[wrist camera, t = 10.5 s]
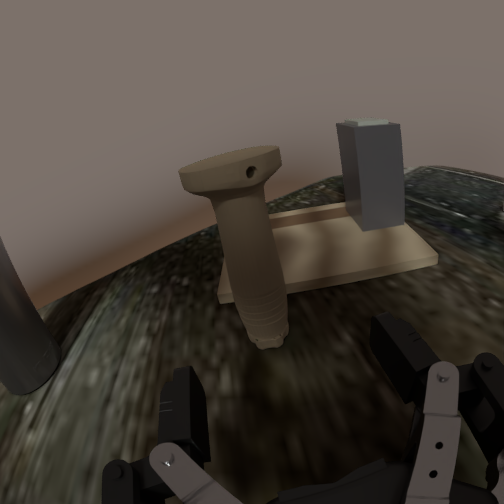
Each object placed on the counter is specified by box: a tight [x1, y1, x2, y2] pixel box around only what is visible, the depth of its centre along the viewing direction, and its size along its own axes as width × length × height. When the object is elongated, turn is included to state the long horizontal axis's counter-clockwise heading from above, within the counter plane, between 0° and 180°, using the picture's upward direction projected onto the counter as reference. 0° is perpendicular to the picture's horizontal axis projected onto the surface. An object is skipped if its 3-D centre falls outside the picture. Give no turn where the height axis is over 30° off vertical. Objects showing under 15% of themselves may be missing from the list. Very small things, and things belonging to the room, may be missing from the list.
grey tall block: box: [336, 118, 404, 232], centre depth 35 cm, size 6×8×14 cm
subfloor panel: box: [217, 202, 438, 304], centre depth 37 cm, size 24×20×1 cm
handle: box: [178, 146, 289, 350], centre depth 21 cm, size 5×6×15 cm
